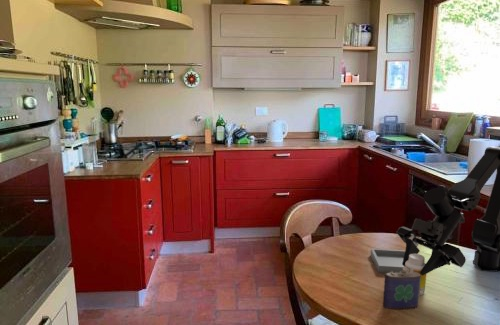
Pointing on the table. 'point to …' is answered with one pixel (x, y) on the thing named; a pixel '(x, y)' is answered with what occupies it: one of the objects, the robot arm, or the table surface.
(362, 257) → the table surface
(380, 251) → the tray
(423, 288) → the supplement bottle
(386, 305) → the blue hip flask
